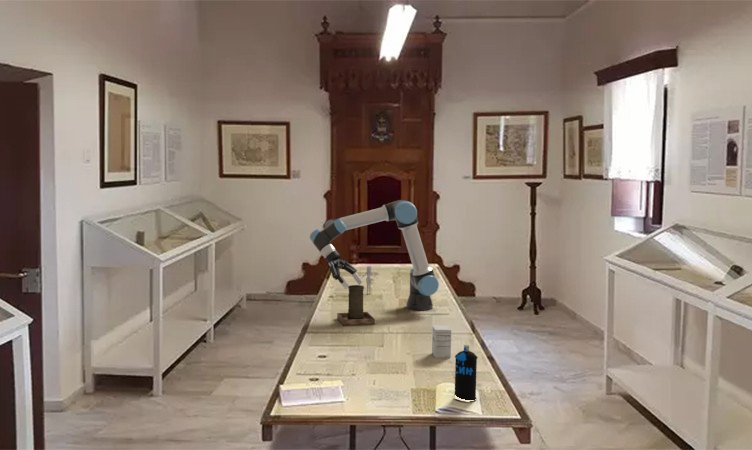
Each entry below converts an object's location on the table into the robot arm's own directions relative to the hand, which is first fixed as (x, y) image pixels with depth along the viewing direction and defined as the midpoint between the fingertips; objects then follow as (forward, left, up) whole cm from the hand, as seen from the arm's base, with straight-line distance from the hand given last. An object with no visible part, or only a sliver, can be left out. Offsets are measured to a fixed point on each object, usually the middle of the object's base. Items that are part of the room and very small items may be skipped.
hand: (354, 285), depth 380 cm
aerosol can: (-14, +125, -19) cm, 127 cm away
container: (-1, 0, -19) cm, 19 cm away
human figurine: (-24, -67, -19) cm, 74 cm away
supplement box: (-24, +70, -20) cm, 76 cm away
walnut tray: (-1, +1, -19) cm, 19 cm away
